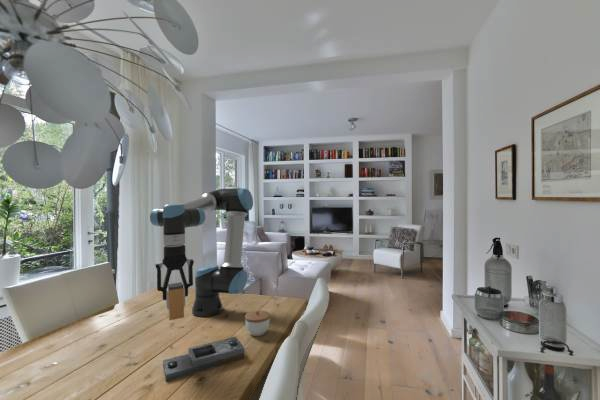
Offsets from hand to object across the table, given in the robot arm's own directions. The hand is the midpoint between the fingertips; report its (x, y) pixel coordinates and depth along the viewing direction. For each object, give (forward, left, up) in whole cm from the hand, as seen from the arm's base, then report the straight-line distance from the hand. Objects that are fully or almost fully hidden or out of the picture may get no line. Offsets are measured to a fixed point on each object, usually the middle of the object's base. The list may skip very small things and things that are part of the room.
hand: (175, 306), depth 111 cm
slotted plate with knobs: (+12, +8, -18) cm, 23 cm away
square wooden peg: (0, 0, -4) cm, 4 cm away
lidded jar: (0, +33, -18) cm, 37 cm away
